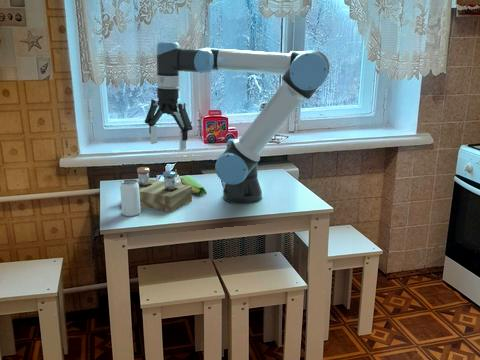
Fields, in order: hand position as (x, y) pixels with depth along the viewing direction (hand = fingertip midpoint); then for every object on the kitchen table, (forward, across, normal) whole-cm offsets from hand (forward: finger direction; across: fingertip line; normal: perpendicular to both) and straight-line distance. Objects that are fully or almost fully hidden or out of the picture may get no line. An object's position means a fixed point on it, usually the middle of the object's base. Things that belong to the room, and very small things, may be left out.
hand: (168, 146), depth 185 cm
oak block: (+22, -5, -1) cm, 23 cm away
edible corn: (+22, -2, +18) cm, 29 cm away
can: (+23, -4, -15) cm, 28 cm away
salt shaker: (+18, +1, 0) cm, 18 cm away
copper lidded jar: (+18, -11, -1) cm, 21 cm away
